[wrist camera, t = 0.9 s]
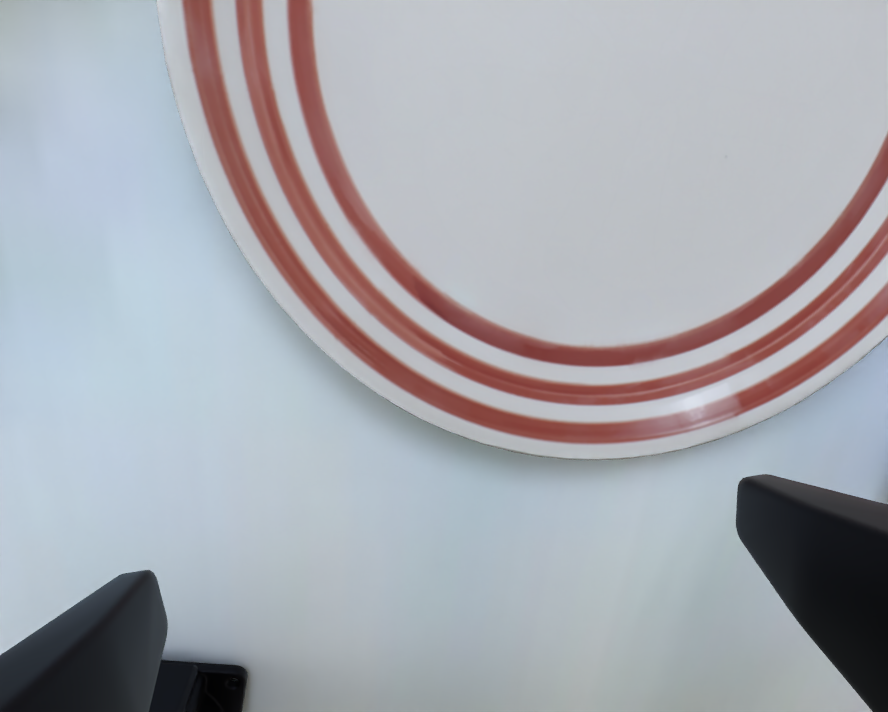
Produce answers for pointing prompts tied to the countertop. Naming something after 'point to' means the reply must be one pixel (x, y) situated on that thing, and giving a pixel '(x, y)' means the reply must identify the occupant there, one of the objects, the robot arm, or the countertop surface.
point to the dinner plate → (555, 201)
